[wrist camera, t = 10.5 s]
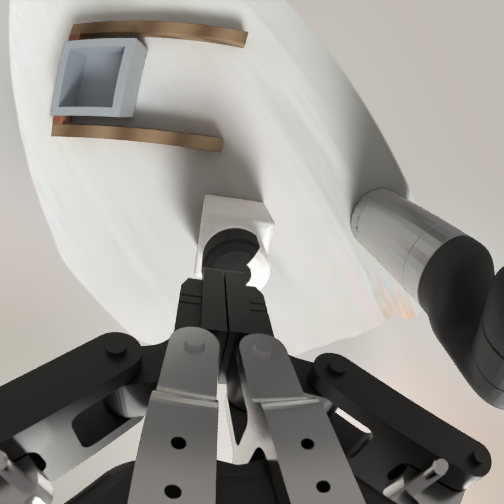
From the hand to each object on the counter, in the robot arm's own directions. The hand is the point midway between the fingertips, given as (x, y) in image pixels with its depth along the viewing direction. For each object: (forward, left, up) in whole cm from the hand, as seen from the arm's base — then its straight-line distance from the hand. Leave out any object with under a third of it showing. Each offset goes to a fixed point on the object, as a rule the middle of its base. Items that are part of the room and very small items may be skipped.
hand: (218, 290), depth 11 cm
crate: (+16, -10, -27) cm, 33 cm away
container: (-3, +7, -27) cm, 28 cm away
